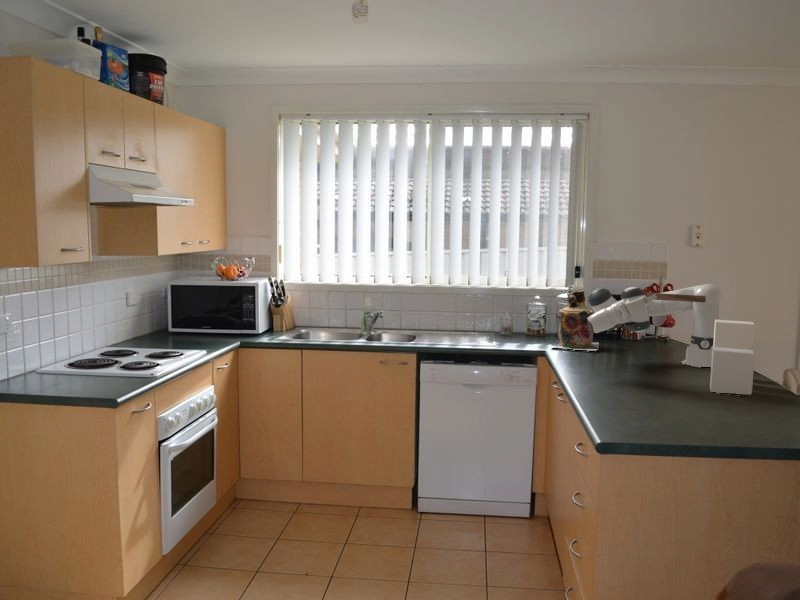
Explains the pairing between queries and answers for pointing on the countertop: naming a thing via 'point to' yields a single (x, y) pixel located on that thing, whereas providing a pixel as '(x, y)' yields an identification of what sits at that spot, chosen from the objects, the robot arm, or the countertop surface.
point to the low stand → (732, 370)
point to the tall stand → (734, 334)
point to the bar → (678, 297)
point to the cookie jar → (576, 324)
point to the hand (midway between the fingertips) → (656, 295)
